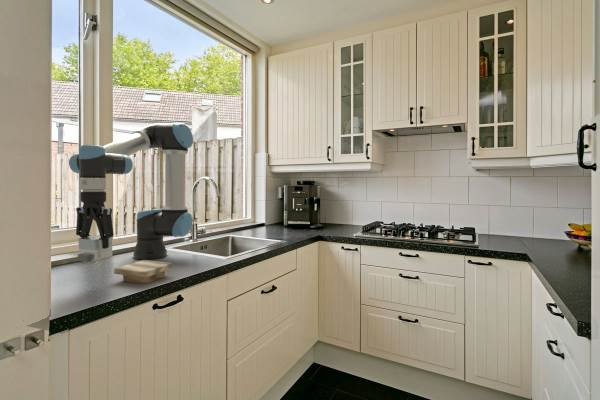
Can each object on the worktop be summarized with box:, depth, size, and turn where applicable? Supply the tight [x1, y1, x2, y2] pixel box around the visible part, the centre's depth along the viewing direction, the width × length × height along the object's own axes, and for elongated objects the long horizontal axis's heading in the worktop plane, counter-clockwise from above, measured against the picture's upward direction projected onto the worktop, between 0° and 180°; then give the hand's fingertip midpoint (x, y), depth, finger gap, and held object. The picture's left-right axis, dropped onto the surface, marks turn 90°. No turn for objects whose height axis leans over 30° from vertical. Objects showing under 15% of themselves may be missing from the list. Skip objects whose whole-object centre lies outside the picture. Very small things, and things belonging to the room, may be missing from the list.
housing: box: [77, 234, 113, 262], centre depth 113 cm, size 9×7×7 cm
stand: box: [113, 259, 173, 285], centre depth 123 cm, size 14×14×5 cm
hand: (95, 256), depth 113 cm, fingers closed on housing, 7 cm apart
